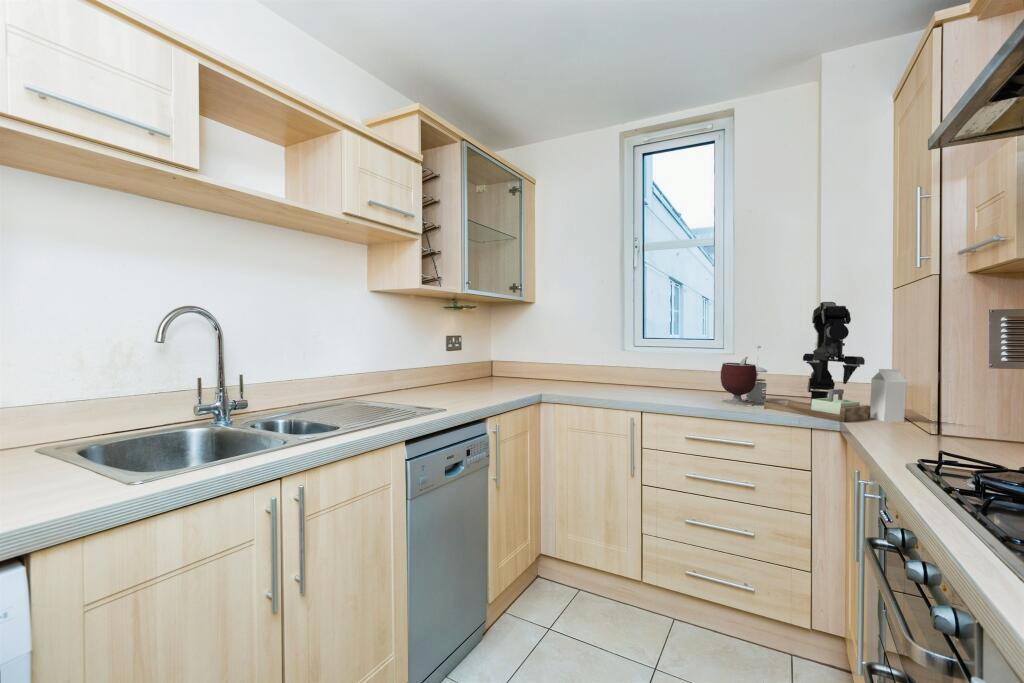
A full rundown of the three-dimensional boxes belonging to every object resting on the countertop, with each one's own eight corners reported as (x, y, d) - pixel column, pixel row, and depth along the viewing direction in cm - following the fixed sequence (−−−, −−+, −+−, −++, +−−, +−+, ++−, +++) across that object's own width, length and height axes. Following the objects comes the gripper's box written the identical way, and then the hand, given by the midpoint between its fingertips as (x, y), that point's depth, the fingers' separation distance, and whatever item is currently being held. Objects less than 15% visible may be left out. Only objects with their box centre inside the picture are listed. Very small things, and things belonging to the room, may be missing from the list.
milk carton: (904, 424, 167) (907, 370, 167) (883, 423, 168) (886, 369, 167) (888, 420, 175) (891, 368, 174) (869, 419, 175) (871, 367, 174)
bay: (789, 407, 197) (790, 394, 197) (869, 421, 171) (870, 406, 170) (763, 409, 189) (764, 396, 189) (843, 424, 163) (844, 408, 163)
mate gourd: (747, 407, 194) (750, 358, 193) (713, 402, 204) (716, 356, 203) (761, 403, 205) (763, 357, 204) (728, 399, 215) (730, 355, 214)
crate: (829, 413, 181) (831, 387, 180) (858, 418, 172) (860, 390, 171) (810, 415, 175) (812, 388, 175) (840, 420, 166) (841, 392, 166)
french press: (744, 401, 211) (747, 345, 210) (742, 397, 222) (744, 344, 221) (769, 403, 207) (772, 346, 206) (765, 399, 218) (768, 345, 217)
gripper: (794, 338, 178) (792, 380, 179) (848, 340, 161) (845, 386, 162) (812, 339, 183) (810, 379, 184) (866, 341, 166) (864, 385, 167)
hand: (831, 382), depth 174 cm, fingers open, 9 cm apart
